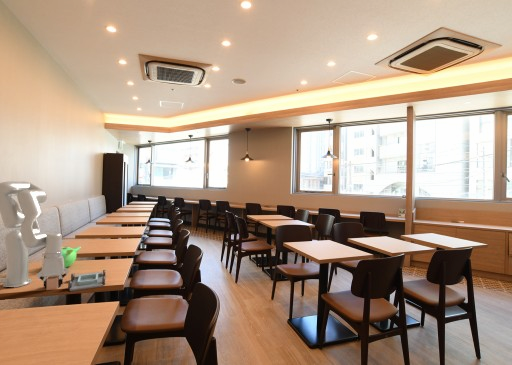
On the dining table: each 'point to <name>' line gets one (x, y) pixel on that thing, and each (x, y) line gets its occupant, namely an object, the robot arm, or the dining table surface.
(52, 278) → the terracotta rectangular box
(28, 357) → the dining table surface
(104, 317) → the dining table surface
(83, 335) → the dining table surface
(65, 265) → the toy bird
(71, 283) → the chassis
